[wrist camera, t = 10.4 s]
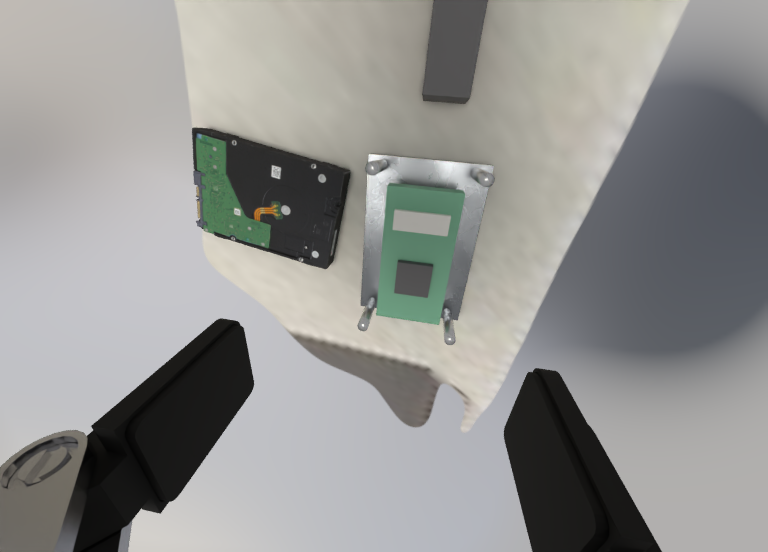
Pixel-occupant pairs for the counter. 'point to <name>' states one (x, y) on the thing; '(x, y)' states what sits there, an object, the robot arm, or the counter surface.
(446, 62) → the block
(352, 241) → the counter surface
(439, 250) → the board
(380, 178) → the chassis
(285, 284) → the counter surface
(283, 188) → the disk drive
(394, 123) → the counter surface
